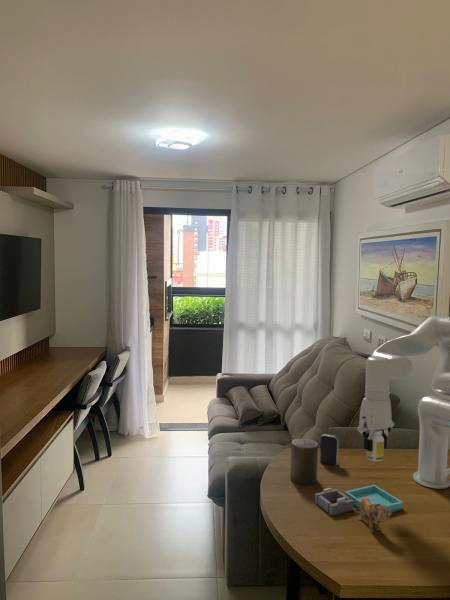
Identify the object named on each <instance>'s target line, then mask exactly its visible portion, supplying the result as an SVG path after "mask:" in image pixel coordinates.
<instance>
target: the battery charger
mask: <svg viewBox="0 0 450 600" xmlns="http://www.w3.org/2000/svg"><path fill="white" fill-rule="evenodd" d="M339 440H340V439H339V437H338V435H335V434H331V433H324V434H322V435H321V436H320V443H319V444H320V445H319V446H320V448H319V449H320V455H319V456H320V459H319V460H320V461H319V462H320V463H324V464H327V465H332V466H337V465H338V454H339V453H338V452H339V447H340V445H339V444H340V441H339Z"/></svg>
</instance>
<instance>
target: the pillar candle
mask: <svg viewBox="0 0 450 600" xmlns="http://www.w3.org/2000/svg"><path fill="white" fill-rule="evenodd" d="M318 449H319V444H318V442H317V441H315V440H314V439H309V438H296V439H292V441H291V452H290V453H291V455H290V473H289V474H290V476H289V477H290V480H291V481H292V482H293V483H296V484H298V485H303V486H310V485H314V484H316V483H317V481H318V458H319V457H318V452H319V450H318Z"/></svg>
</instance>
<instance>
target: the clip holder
mask: <svg viewBox="0 0 450 600" xmlns="http://www.w3.org/2000/svg"><path fill="white" fill-rule="evenodd" d="M335 500H336V502H335V503H332V502H331V501H335ZM314 503H315V504H316V505H318V506H319V507H320V508H322V510H324V511H325V512H327V514H329V515H330V516H332V517H333V516H335V515H339V514H343V513H346V512H350V511H353V510H354V509H355V506H354V501H353V500H352V499H350V498H349V497H348V496H346V495H345V493H343V492H342V491H340V490H339V489H338V488H333V489H332V487H329V488H324V489H323V491H320V492H316V493H314Z"/></svg>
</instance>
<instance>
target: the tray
mask: <svg viewBox="0 0 450 600" xmlns="http://www.w3.org/2000/svg"><path fill="white" fill-rule="evenodd" d="M344 494H345V495H346V496H348V497H349V498H350V499H352V500H353V501H354V507H356V509H359V508H360V502H361V499H362V498H364V497H366V498H369V499H370V502H371V504H379V503H381V504H384V505H386V508H387V509H388V510H389V511H390V512H391V514H393V513H394V512H398V511H399V512H400V511H402V510H403V508H404V501H402V500H400V499H399V498H397V497H395V496H394V495H392V494H390V493H389V492H388V491H386V490H383V489H382V488H380V487H379V486H377V485H375V484H372V485H366V486H363V487H359V488H354V489H350V490H345V491H344ZM363 511H364V510H363Z"/></svg>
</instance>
